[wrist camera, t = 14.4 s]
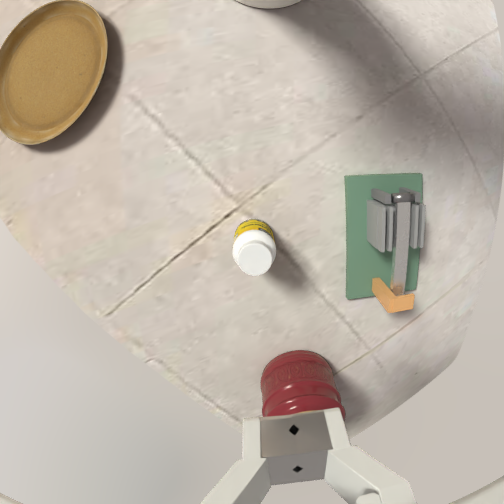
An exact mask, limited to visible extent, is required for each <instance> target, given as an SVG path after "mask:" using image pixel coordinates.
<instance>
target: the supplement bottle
mask: <svg viewBox="0 0 504 504" xmlns="http://www.w3.org/2000/svg"><path fill="white" fill-rule="evenodd" d="M275 256H276V245H275V241H274V237H273V233H272V230H271V228H270V227H269V225H268V224H267V223H266V222H264V221H262V220H260V219H255V218H252V219H247V220H245V221H243V222H242V223H241V224H240V225H239V226H238V228H237V229H236V232H235V236H234V242H233V258H234V260H235V262H236V263H237V265H238V266H239V267H240V269H241V270H242V271H243V272H244V273H246V274H248V275H251V276H258V275H262V274H264V273H265V272H267V271H268V270H269V268H270V267H271V264H272V263H273V261H274V259H275Z"/></svg>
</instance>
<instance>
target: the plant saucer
mask: <svg viewBox="0 0 504 504" xmlns="http://www.w3.org/2000/svg"><path fill="white" fill-rule="evenodd" d="M107 52H108V41H107V33H106V29H105V25H104V23H103V20H102V19H101V17H100V15H99V14H98V12H97V11H96V10H95V9H94V8H93V7H92V6H90V5H89V4H87V3H85V2H83V1H79V0H56V1H53V2H50V3H47V4H45V5H43V6H41V7H39V8H37V9H36V10H34V11H33V12H31V13H30V14H28V15H27V16H26V17H25V18H24V19H23V20H21V21H20V22H19V23H18V25H17V26H16V27H15V28H14V29H13V30H12V31H11V33H10V34H9V35H8V37H7V38H6V40H5V41H4V43H3V45H2V47H1V49H0V130H1V132H2V133H3V134H4V135H5V136H7V137H8V138H9V139H11V140H13V141H15V142H17V143H20V144H26V145H33V144H39V143H43V142H46V141H48V140H51V139H53V138H55V137H56V136H58V135H59V134H61V133H62V132H64V131H65V130H66V129H67V128H69V127H70V126H71V125H72V124H73V123H74V122H75V121H76V120H77V119H78V118H79V117H80V115H81V114H82V113H83V112H84V110H85V109H86V108H87V106H88V105H89V103H90V102H91V100H92V98H93V97H94V95H95V93H96V91H97V89H98V87H99V84H100V82H101V79H102V76H103V73H104V70H105V65H106V60H107Z"/></svg>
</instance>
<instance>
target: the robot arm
mask: <svg viewBox="0 0 504 504" xmlns="http://www.w3.org/2000/svg"><path fill="white" fill-rule="evenodd" d="M236 1H238V2H240V3H243V4H245V5H248V6H252V7H257V8H281V7H286V6H290V5H293V4H295V3H297V2H299V1H301V0H236ZM242 448H243V450H242V452H243V453H242V459H240V460H237V461H236V462H235V464H234V465H233V466H232V467H231V468H230V469H229V471H228V472H227V473H226V474H225V476H224V477H223V478H222V479H221V480H220V481H219V482H218V484H217V485H216V486H215V487H214V488H213V489H212V490H211V492H210V493H209V494H208V495H207V496H206V497H205V498H204V499H203V501H202V502H201V503H200V504H260V503H261V502H262V500H263V499H264V497H265V496H266V494H267V492H268V491H269V489H270V488H271V485H278V484H287V483H294V482H303V481H312V480H320V479H324V480H325V481H326V482H327V483H328V484H329V485H330V486H331V487H332V488H333V489H334V490H335V491H336V492H337V493H338V494H339V495H340V496H341V497H342V498H343V499H344V500H345V501H346V502H347V503H348V504H417V502H416V499H415V497H414V494H413V491H412V489H411V486H410V483H409V481H407V480H405V479H404V478H402V477H401V476H399V475H398V474H396V473H395V472H393V471H392V470H390V469H389V468H387V467H386V466H384V465H383V464H382V463H380V462H379V461H377V460H376V459H375V458H373V457H372V456H370V455H369V454H367V453H366V452H365V451H363V450H362V449H361V448H359V447H358V446H356V445H353V446H351V443H350V440H349V437H348V433H347V430H346V427H345V423H344V420H343V417H342V414H341V410H340V409H339V408H338V407H337V408H331V409H325V410H317V411H311V412H304V413H297V414H291V415H283V416H269V417H255V418H244V419H243V447H242ZM0 504H22V503H20V502H18V501H16V500H13V499H11V498H9V497H7V496H5V495H3V494H1V493H0ZM450 504H504V476H503V477H501V478H499V479H497V480H496V481H494V482H492V483H490V484H489V485H487V486H485V487H483V488H481V489H479V490H477V491H475V492H473V493H471V494H469V495H467V496H465V497H463V498H461V499H459V500H456V501H454V502H452V503H450Z"/></svg>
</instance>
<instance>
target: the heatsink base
mask: <svg viewBox="0 0 504 504" xmlns="http://www.w3.org/2000/svg"><path fill="white" fill-rule="evenodd" d="M405 192H412V193H413V194H414V202H413V203H410V230H409V247H408V260H407V272H406V282H405V291H408V290H414V289H416V284H417V275H418V265H419V253H420V248H423V244H424V229H425V206H426V205H424V204H422V174H420V173H402V174H372V175H350V176H345V197H346V244H347V261H346V298H347V299H355V298H362V297H369V296H375V295H374V293H373V292H372V279H373V278H379V277H380V279H381V280H382V281H383V282H384V283H385V284H386V285H387V287H388V288H389V289H390V283H391V271H392V256H393V237H394V204H392V202H391V193H405Z"/></svg>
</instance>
